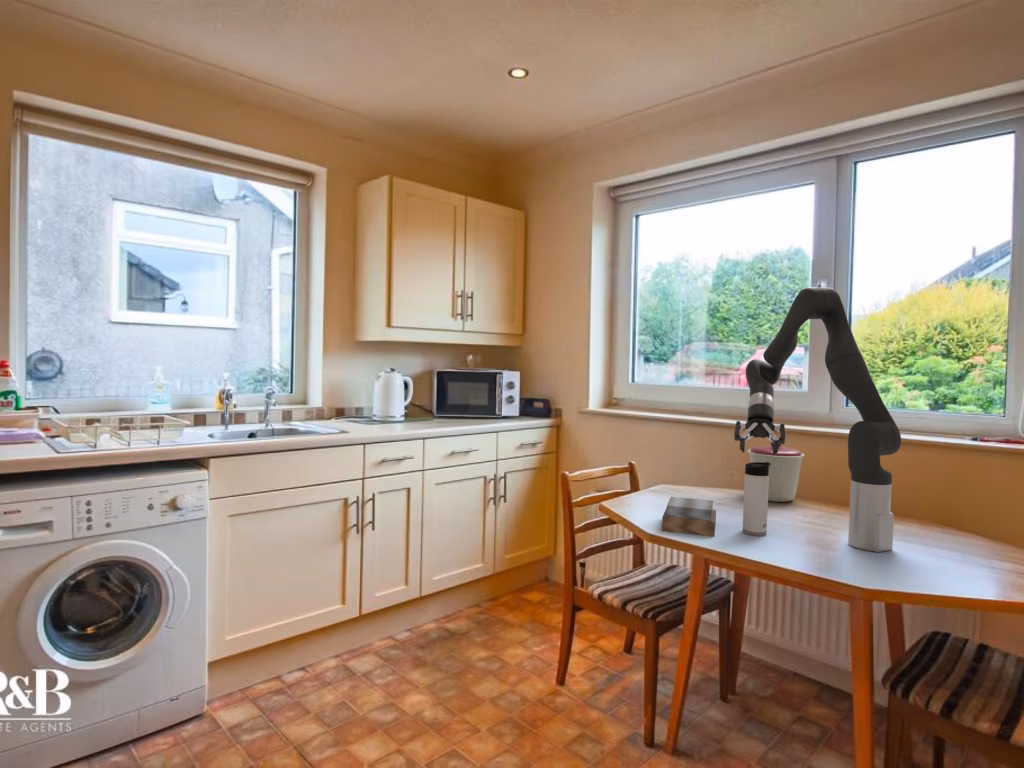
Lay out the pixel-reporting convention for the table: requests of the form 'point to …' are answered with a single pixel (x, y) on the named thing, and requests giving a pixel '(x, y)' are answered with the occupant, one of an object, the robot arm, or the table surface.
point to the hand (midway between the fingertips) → (758, 451)
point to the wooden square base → (689, 516)
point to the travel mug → (756, 498)
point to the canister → (779, 470)
